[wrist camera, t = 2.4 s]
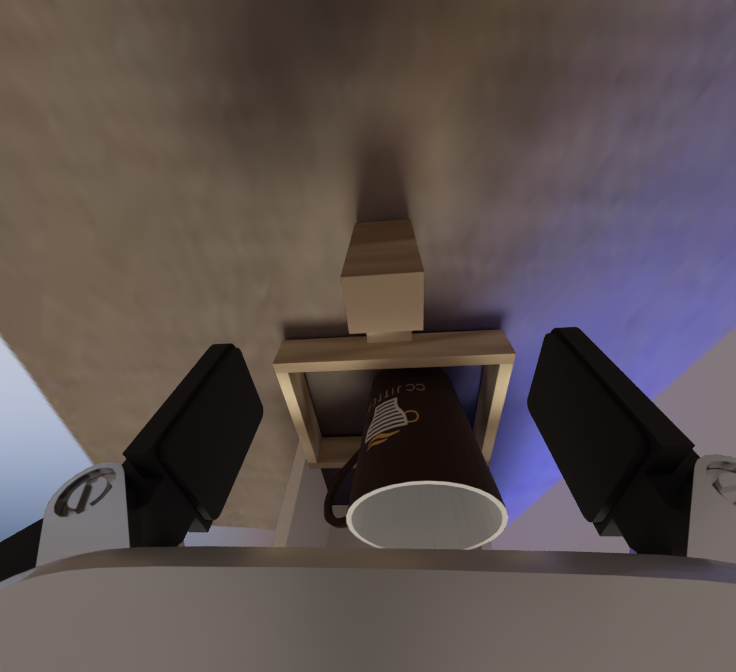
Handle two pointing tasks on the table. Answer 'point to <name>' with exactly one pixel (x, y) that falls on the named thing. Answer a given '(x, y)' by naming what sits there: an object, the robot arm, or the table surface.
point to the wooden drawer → (388, 340)
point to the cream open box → (314, 513)
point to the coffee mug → (419, 470)
